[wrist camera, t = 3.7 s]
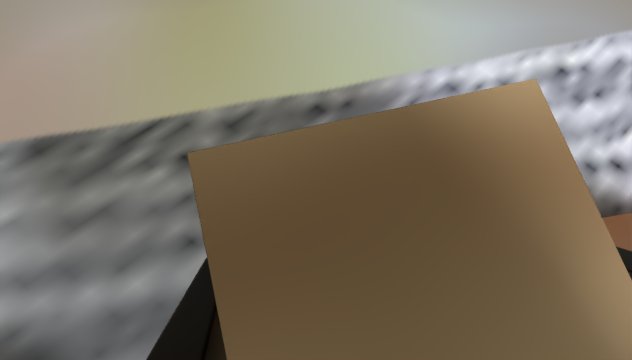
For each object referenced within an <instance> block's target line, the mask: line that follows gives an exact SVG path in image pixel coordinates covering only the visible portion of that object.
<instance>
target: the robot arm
mask: <svg viewBox="0 0 632 360" xmlns="http://www.w3.org/2000/svg"><path fill="white" fill-rule="evenodd" d="M616 248H617V250H618V253H619V255H620V257H621V259H622V261H623V263H624V265H625V267H626V269H627V271H628V274H629V276H630V278H631V280H632V251H630V250H627V249H623V248H620V247H617V246H616ZM146 360H227V357H226V352H225V346H224V341H223V336H222V331H221V326H220V321H219V315H218V310H217V305H216V300H215V295H214V290H213V284H212V279H211V274H210V269H209V264H208V259H207V258H206V259H205V261H204V263H203V264H202V266H201V268H200V269H199V271H198V273H197V275H196V276H195V278H194V280H193V281H192V283H191V285H190V286H189V288H188V290H187V291H186V293H185V295H184V297H183V298H182V300H181V302H180V303H179V305H178V307H177V308H176V310H175V312H174V313H173V315H172V317H171V319H170V320H169V322H168V324H167V325H166V327H165V329H164V330H163V332H162V334H161V335H160V337H159V339H158V340H157V342H156V344H155V346H154V347H153V349H152V351H151V352H150V354H149V356H148V357H147V359H146Z"/></svg>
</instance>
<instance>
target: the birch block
mask: <svg viewBox="0 0 632 360" xmlns="http://www.w3.org/2000/svg"><path fill="white" fill-rule="evenodd" d="M187 155H188V161H189V166H190V171H191V176H192V181H193V186H194V192H195V197H196V202H197V207H198V212H199V217H200V222H201V228H202V233H203V238H204V243H205V248H206V253H207V259H208V264H209V269H210V274H211V279H212V284H213V290H214V295H215V300H216V305H217V310H218V315H219V321H220V326H221V331H222V336H223V341H224V346H225V352H226V357H227V360H632V280H631V278H630V276H629V274H628V271H627V269H626V267H625V265H624V263H623V261H622V259H621V257H620V255H619V253H618V250H617V248H616V246H615V244H614V242H613V240H612V238H611V236H610V234H609V232H608V229H607V227H606V225H605V223H604V221H603V219H602V217H601V215H600V213H599V211H598V208H597V206H596V204H595V202H594V200H593V198H592V196H591V194H590V192H589V190H588V187H587V185H586V183H585V181H584V179H583V177H582V175H581V173H580V171H579V169H578V166H577V164H576V162H575V160H574V158H573V156H572V154H571V152H570V150H569V148H568V145H567V143H566V141H565V139H564V137H563V135H562V133H561V131H560V129H559V127H558V124H557V122H556V120H555V118H554V116H553V114H552V112H551V110H550V108H549V106H548V103H547V101H546V99H545V97H544V95H543V93H542V91H541V89H540V87H539V85H538V82H537V80H536V79H532V80H528V81H523V82H518V83H514V84H509V85H504V86H499V87H495V88H490V89H485V90H481V91H476V92H471V93H466V94H462V95H457V96H452V97H448V98H443V99H438V100H434V101H429V102H424V103H419V104H415V105H410V106H405V107H401V108H396V109H391V110H386V111H382V112H377V113H372V114H368V115H363V116H358V117H354V118H349V119H344V120H339V121H335V122H330V123H325V124H321V125H316V126H311V127H306V128H302V129H297V130H292V131H288V132H283V133H278V134H274V135H269V136H264V137H259V138H255V139H250V140H245V141H241V142H236V143H231V144H226V145H222V146H217V147H212V148H208V149H203V150H198V151H194V152H189V153H187Z"/></svg>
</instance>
